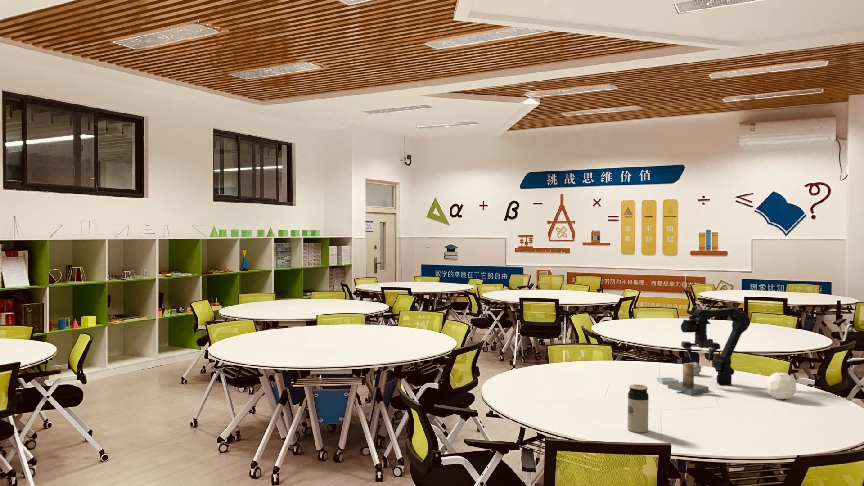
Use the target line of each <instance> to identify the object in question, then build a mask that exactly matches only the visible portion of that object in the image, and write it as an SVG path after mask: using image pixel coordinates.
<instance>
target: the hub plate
mask: <svg viewBox="0 0 864 486" xmlns="http://www.w3.org/2000/svg"><path fill="white" fill-rule="evenodd" d="M667 389H671V390H673V391H676V392H677V393H678V394H682V395H686V396H690V397H693V396H698V395H699V396H700V395H703V394H709V390H710V389H709V386H708V385H707V386H706V385H703V384H700V383H699V384H697V383H694V386H693V387H685V386H683V381H679V382H678V383H672V384H667Z"/></svg>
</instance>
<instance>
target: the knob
mask: <svg viewBox="0 0 864 486" xmlns="http://www.w3.org/2000/svg"><path fill="white" fill-rule="evenodd" d="M682 382H683V386H685V387H693V386H694V384H695V375H694V364H692V362H688V363H686V362H684V363H682Z"/></svg>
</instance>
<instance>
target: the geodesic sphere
mask: <svg viewBox="0 0 864 486" xmlns="http://www.w3.org/2000/svg"><path fill="white" fill-rule="evenodd" d="M765 387H766V390H767V392H768V394H769V395H770V396H772V397H773V399H776V400H779V399H787V400H789V399H791V398H792V397H794V396H795V394H796V392H797V382H796V381H795V379H794V378H793V377H792V376H791V375H790V374H788V373H786V372H780V371H778V372H776V371H775V372H774V373H773V374H771V375H769V376H768V377H767V379H766V380H765Z"/></svg>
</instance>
